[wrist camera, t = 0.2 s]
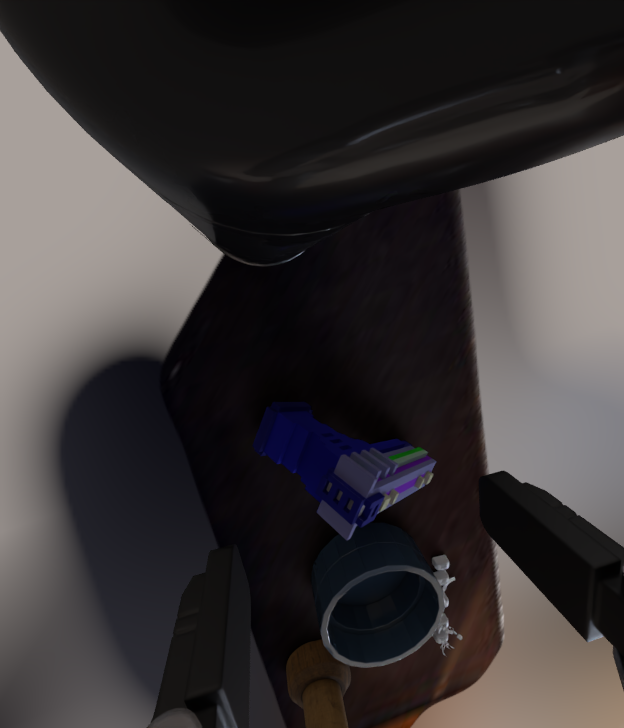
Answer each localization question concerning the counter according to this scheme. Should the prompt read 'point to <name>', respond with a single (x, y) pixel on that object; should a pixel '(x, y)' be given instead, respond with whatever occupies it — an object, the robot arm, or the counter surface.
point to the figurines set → (443, 578)
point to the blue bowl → (375, 596)
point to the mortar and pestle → (318, 685)
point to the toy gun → (341, 465)
